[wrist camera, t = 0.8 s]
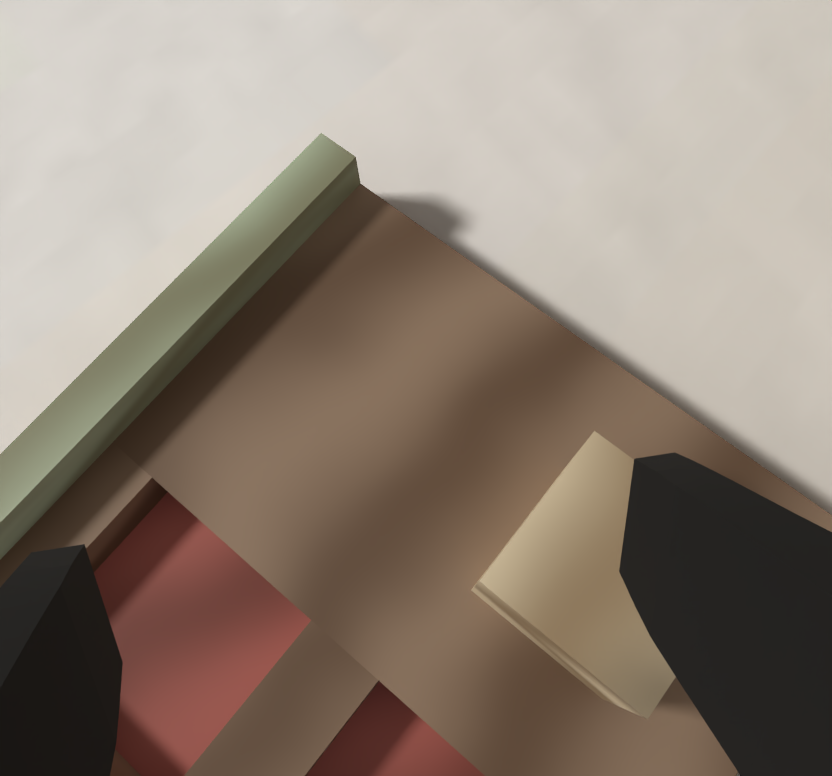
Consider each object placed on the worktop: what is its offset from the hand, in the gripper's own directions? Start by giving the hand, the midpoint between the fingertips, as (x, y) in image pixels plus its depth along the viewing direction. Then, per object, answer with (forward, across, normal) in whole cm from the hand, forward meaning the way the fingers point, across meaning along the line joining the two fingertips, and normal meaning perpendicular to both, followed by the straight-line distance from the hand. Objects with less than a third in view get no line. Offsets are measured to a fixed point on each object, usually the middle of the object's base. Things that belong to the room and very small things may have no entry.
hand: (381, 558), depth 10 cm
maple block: (+7, -6, +8) cm, 13 cm away
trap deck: (+10, -1, +10) cm, 14 cm away
